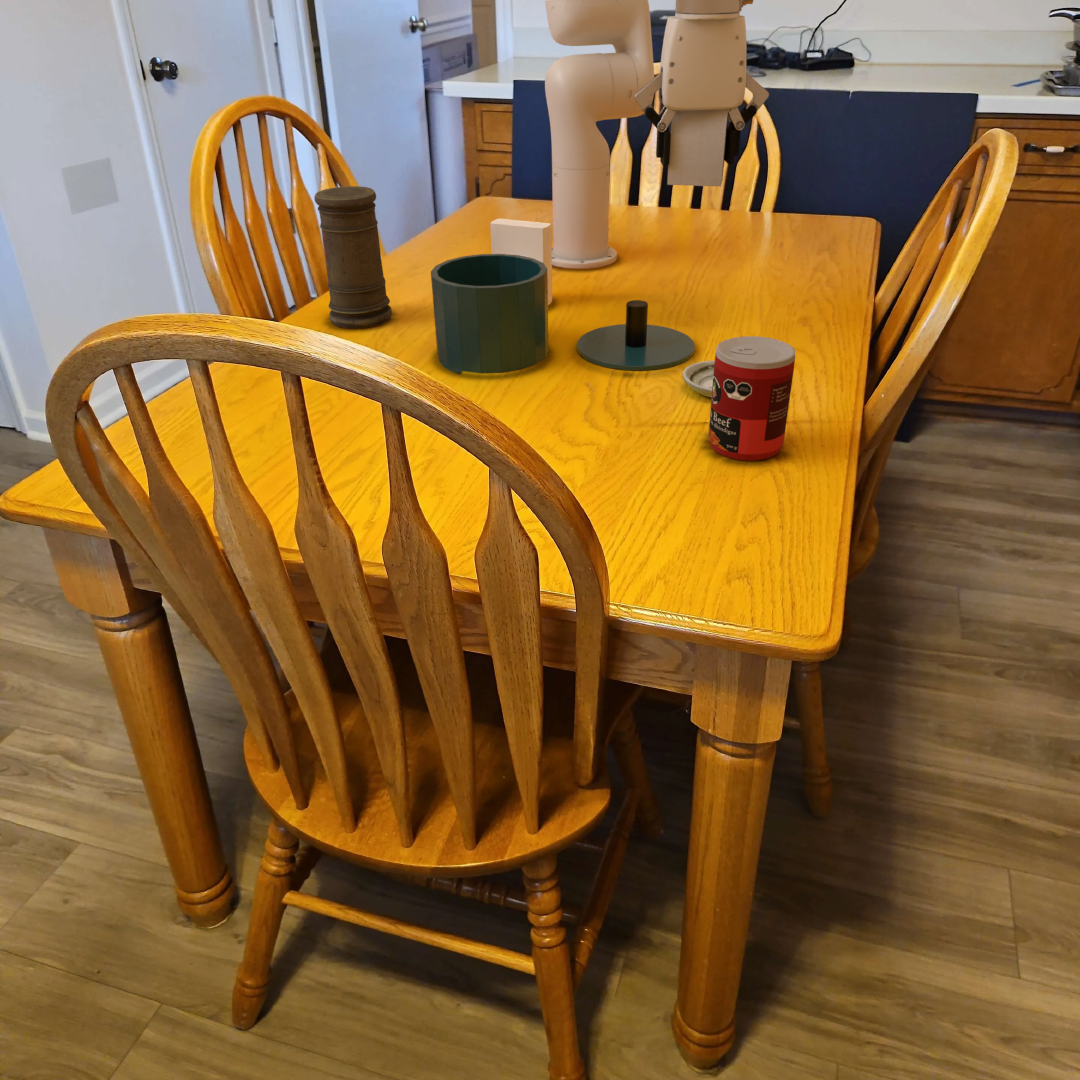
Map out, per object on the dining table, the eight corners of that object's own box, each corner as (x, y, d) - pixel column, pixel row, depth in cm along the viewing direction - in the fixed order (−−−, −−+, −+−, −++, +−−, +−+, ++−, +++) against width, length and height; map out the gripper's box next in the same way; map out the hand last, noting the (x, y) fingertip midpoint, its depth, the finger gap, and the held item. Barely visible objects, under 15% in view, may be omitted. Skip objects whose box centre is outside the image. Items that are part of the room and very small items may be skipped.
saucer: (744, 416, 106) (746, 396, 105) (667, 399, 111) (669, 380, 109) (774, 387, 113) (776, 368, 112) (700, 372, 118) (702, 354, 116)
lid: (574, 333, 130) (574, 286, 127) (684, 330, 130) (688, 283, 127) (580, 376, 117) (580, 325, 114) (703, 373, 117) (707, 322, 114)
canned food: (700, 432, 103) (708, 337, 97) (770, 428, 104) (782, 333, 98) (717, 464, 97) (726, 365, 91) (792, 460, 97) (806, 360, 91)
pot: (441, 337, 130) (435, 255, 124) (547, 335, 130) (546, 252, 124) (433, 378, 117) (425, 289, 111) (550, 375, 118) (548, 286, 111)
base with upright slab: (561, 298, 143) (561, 218, 137) (537, 316, 136) (535, 233, 130) (509, 291, 146) (506, 213, 140) (483, 309, 140) (478, 228, 133)
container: (401, 311, 139) (389, 186, 130) (373, 332, 132) (358, 201, 122) (349, 306, 142) (332, 183, 132) (318, 326, 135) (299, 197, 125)
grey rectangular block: (720, 186, 117) (728, 99, 112) (667, 184, 118) (672, 98, 113) (722, 180, 120) (730, 95, 115) (670, 178, 121) (675, 94, 116)
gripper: (774, -1, 112) (757, 155, 121) (630, 2, 111) (625, 158, 121) (790, 3, 105) (771, 167, 115) (637, 6, 105) (631, 171, 115)
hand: (696, 162), depth 118 cm, fingers closed on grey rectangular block, 7 cm apart
